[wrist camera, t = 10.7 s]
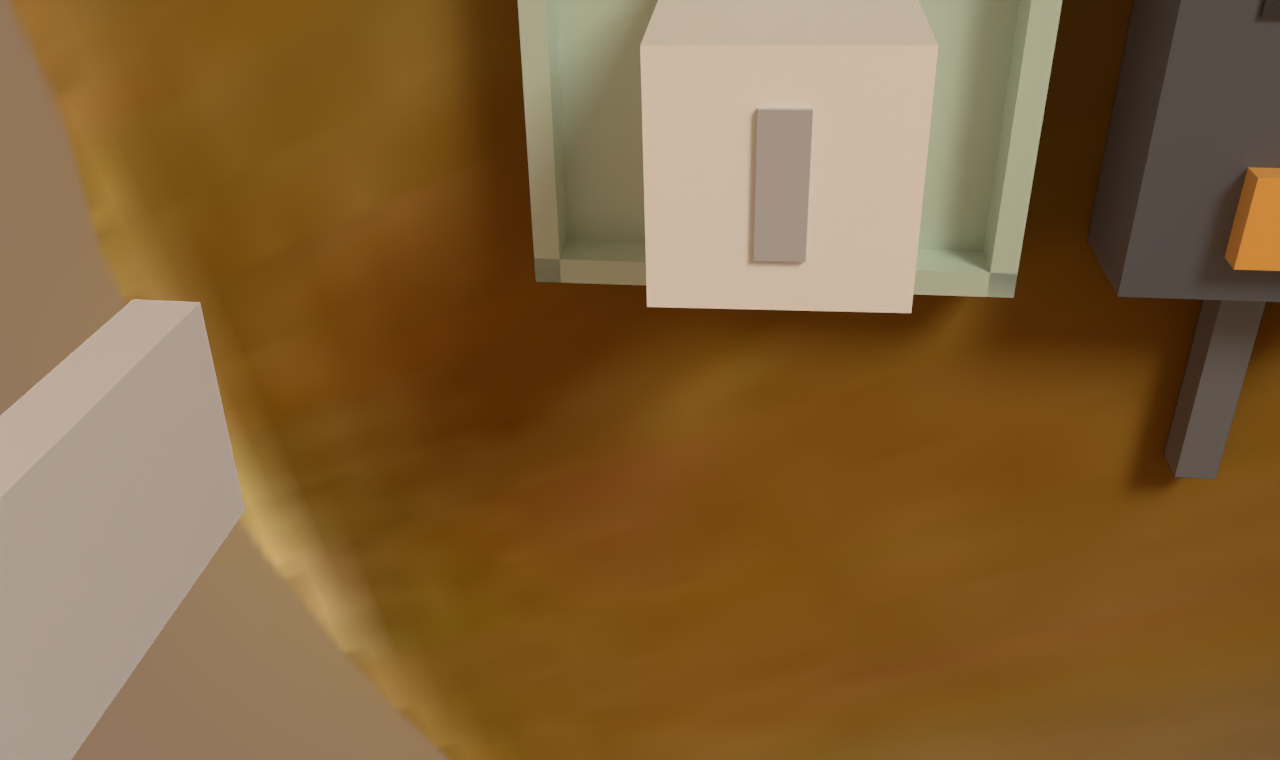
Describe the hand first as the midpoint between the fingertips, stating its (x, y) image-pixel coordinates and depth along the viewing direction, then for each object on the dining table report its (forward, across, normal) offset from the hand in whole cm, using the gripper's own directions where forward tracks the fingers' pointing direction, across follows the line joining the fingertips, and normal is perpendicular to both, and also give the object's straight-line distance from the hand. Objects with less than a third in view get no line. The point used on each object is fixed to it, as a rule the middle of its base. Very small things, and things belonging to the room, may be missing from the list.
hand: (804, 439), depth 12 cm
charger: (+15, 0, -1) cm, 15 cm away
